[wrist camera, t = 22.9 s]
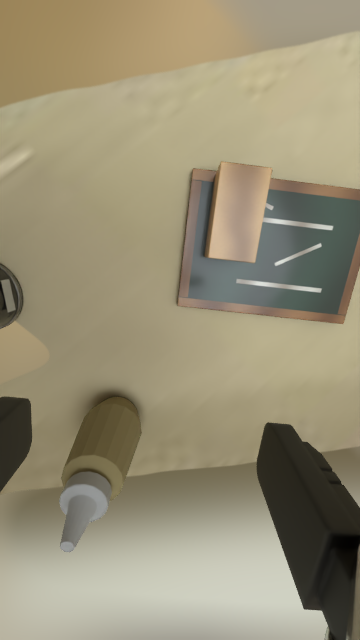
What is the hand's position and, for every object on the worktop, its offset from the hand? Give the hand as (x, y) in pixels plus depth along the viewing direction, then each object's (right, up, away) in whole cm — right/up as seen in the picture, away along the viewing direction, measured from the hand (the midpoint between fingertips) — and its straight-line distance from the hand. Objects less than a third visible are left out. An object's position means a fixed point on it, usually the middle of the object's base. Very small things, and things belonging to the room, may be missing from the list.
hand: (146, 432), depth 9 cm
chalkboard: (+13, +13, +24) cm, 30 cm away
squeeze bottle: (-8, -10, +30) cm, 32 cm away
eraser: (+7, +16, +22) cm, 28 cm away
